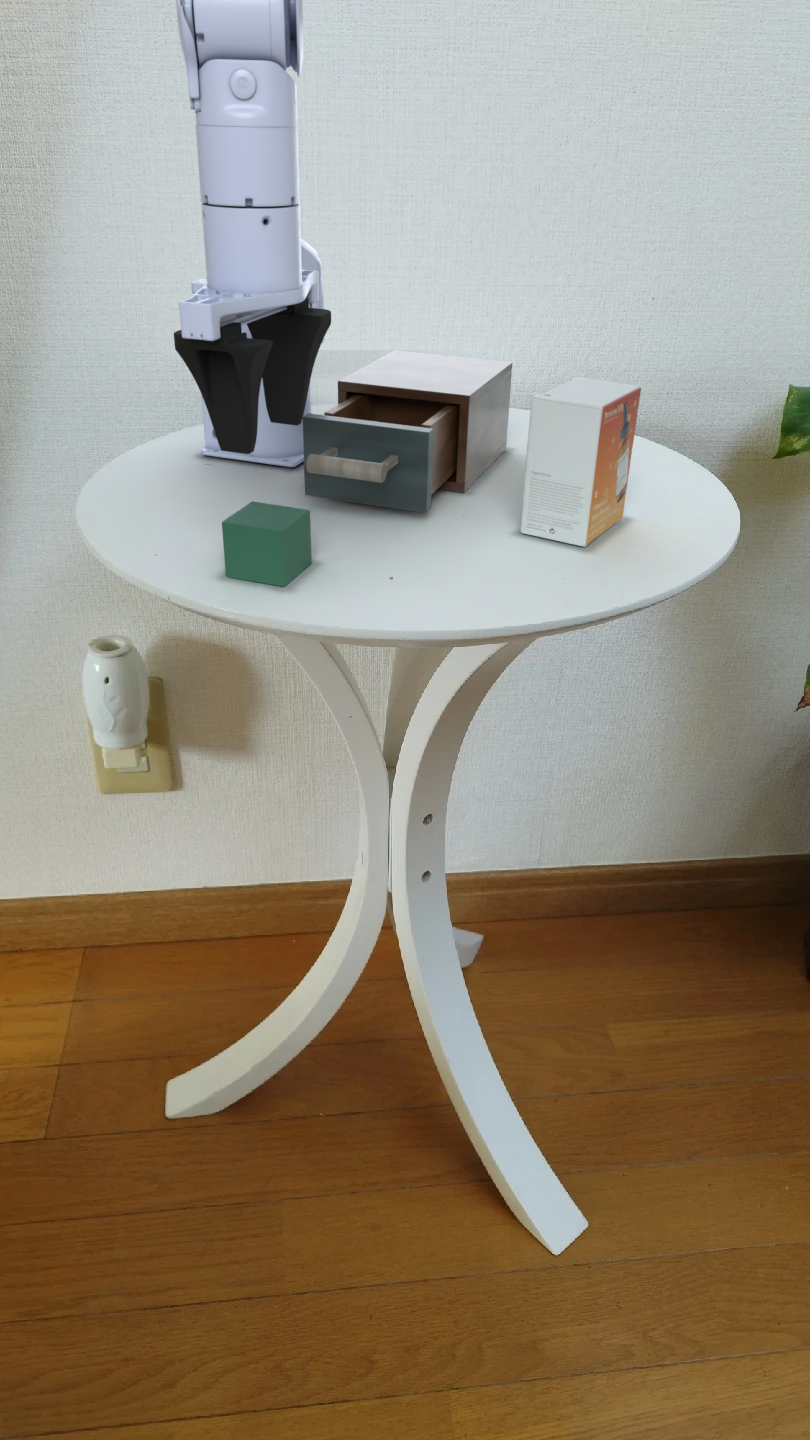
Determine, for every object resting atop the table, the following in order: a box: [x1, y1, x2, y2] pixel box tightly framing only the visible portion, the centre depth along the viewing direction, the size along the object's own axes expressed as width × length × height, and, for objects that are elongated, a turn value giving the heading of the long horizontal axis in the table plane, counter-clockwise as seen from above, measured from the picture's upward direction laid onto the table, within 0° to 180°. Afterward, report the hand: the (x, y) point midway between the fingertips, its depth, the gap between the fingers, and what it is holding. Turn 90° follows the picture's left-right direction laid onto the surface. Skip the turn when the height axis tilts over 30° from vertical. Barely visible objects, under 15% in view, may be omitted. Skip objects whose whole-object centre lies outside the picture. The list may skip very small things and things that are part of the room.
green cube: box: [221, 501, 312, 587], centre depth 70 cm, size 4×4×4 cm
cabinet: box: [337, 349, 513, 493], centre depth 91 cm, size 14×12×8 cm
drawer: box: [303, 393, 460, 514], centre depth 82 cm, size 17×10×6 cm, turn 160°
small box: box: [519, 376, 642, 548], centre depth 77 cm, size 8×6×10 cm
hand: (262, 436), depth 66 cm, fingers open, 6 cm apart
